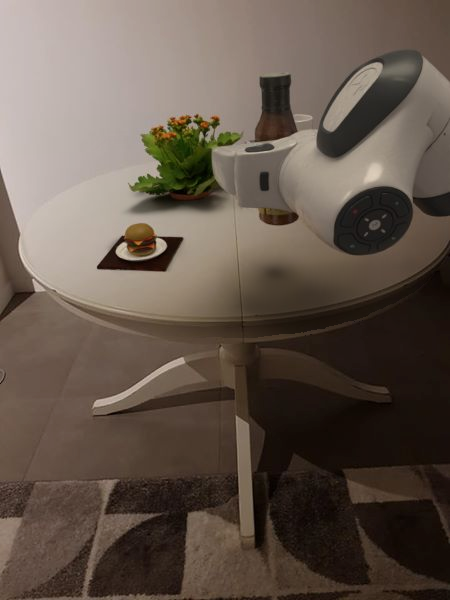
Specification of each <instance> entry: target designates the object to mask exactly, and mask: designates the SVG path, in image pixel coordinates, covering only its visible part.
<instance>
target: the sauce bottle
mask: <svg viewBox="0 0 450 600" xmlns="http://www.w3.org/2000/svg"><path fill="white" fill-rule="evenodd" d="M291 76H292V75H291V73H290V72H285V71H282V72H268V73H263V74H261V75H259V88H260V90H261V107H260V109H261V114H260V117H259V120H258V122H257V124H256V126H255V129H254V140H256V141H257V142H263V141H271V140H279V139H282V138H285V137H289V136H291V135H293V134H294V133H296V132H298V131H297V128H296V124H295V121H294V118H293V115H294V114H293V112H292V107H291V91H290V89H291V84H292V77H291ZM257 211H258V212H259V213H258V218H259V220H260V221H261V222H263V223H264V224H266V225H268V226H269V225H270V226H275V227H276V226H277V227H279V226H287V225H291V224H293V223H295V222H297V221H298V220H299V219H300V217H299V215H298V214H297V213H295V212H291V211H285V210H280V209H272V208H257Z"/></svg>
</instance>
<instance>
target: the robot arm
mask: <svg viewBox="0 0 450 600" xmlns="http://www.w3.org/2000/svg"><path fill="white" fill-rule="evenodd" d="M212 168H213V175H214V177H215V179H216V181H217V182H218V183H219V185H220V186H219V187H221V188H222V189H223V190H224V191H225V192H226V193H227V194H230V195H233V196H235V197H236V201H237V205H238V206H239V207H241V208H245V209H258V208H272V209H280V210H285V211H291V212H295V213H297V214H298V215H299V219H300V220H301V222H302V224H304V226H306V228H308V230H310V231H311V233H312V234H314V236H316V237H317V238H318V239H319V240H320V241H321V242H322V243H324V244H325V245H327V247H330V248H331V249H333V250H335V251H337V252H339V253H342V254H345V255H350V256H360V257H361V256H369V255H370V256H371V255H375V254H379V253H381V252H384V251H386V250H388V249H390V248H392V247H393V246H394V245H396V244H397V243H398V242H399V241H401V239H402V238H403V237H404V236H405V235H406V234H407V232H408V231H409V229H410V227H411V225H412V222H413V219H414V210H415V207H416V208H418V210H420V211H421V212H422V214H425V215H427V216H430V217H435V218H444V217H450V81H449V79H447V78H446V77H445V75H444V74H443V73H442V72H440V71H439V69H437V67H435V66H434V64H433V63H431V62H430V61H429V60H428V59H427V58H426V57H425V56H423V55H422V53H421V52H420V51H419V50H416V49H398V50H393V51H390V52H387V53H384V54H381V55H378V56H376V57H374V58H372V59H370V60H368V61H365V62H364V63H362V64H360V65H359V66H358V67H356V68H355V69H354V70H353V71H352V72H350V73H349V74H348V76H347V77H346V78H345V79H344V80H343V81H342V83H341V84H340V85H339V87H338V88H337V90H336V91H335V92H334V94H333V95H332V97H331V99H330V100H329V102H328V104H327V106H326V108H325V109H324V111H323V114H322V116H321V118H320V120H319V125H318V129H314V128H313V129H308V130H302V131H299V132H296V133H294V134H293V135H291V136H289V137H285V138H282V139H279V140H271V141H263V142H257V141H256V140H255V139H252V140H245V141H244V143H240V144H239V143H238V144H233V145H230V146H221V147H216V148H214V149H213V150H212ZM414 205H415V207H414Z"/></svg>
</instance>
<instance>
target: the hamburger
mask: <svg viewBox="0 0 450 600" xmlns="http://www.w3.org/2000/svg"><path fill="white" fill-rule="evenodd" d="M183 241H184V236H157V234H156V233H155V230H154V229H153V227H152V226H151V225H150V224H148V223H146V222H145V223H144V222H137V223H134V224H131V225H129V226H128V227H126V230H125V231H124V235H121V236H120V237H119V239H118V240H116V242H115V243H114V244H113V246H112V247H111V248H110V249H109V250H108V252H107V253H106V254H105V255H104V257H103V258H102V259H101V260H100V262H99V263H98V264H97V265H96V269H97V270H116V269H120V270H121V271H122V269H123V271H145V272H146V271H147V272H166V271H167V269H168V268H169V266H170V264H171V263H172V261H173V259H174V257H175V255H176V253H177V252H178V250H179V248H180V246H181V244H182V243H183ZM120 270H119V271H120Z"/></svg>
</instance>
